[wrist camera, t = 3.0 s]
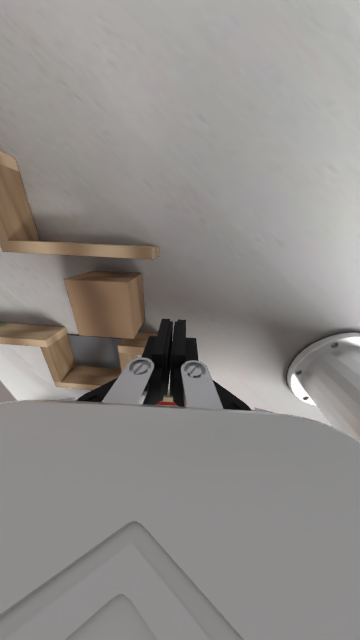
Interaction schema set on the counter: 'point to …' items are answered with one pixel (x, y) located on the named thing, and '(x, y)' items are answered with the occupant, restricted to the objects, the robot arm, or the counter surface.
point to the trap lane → (97, 352)
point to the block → (107, 303)
